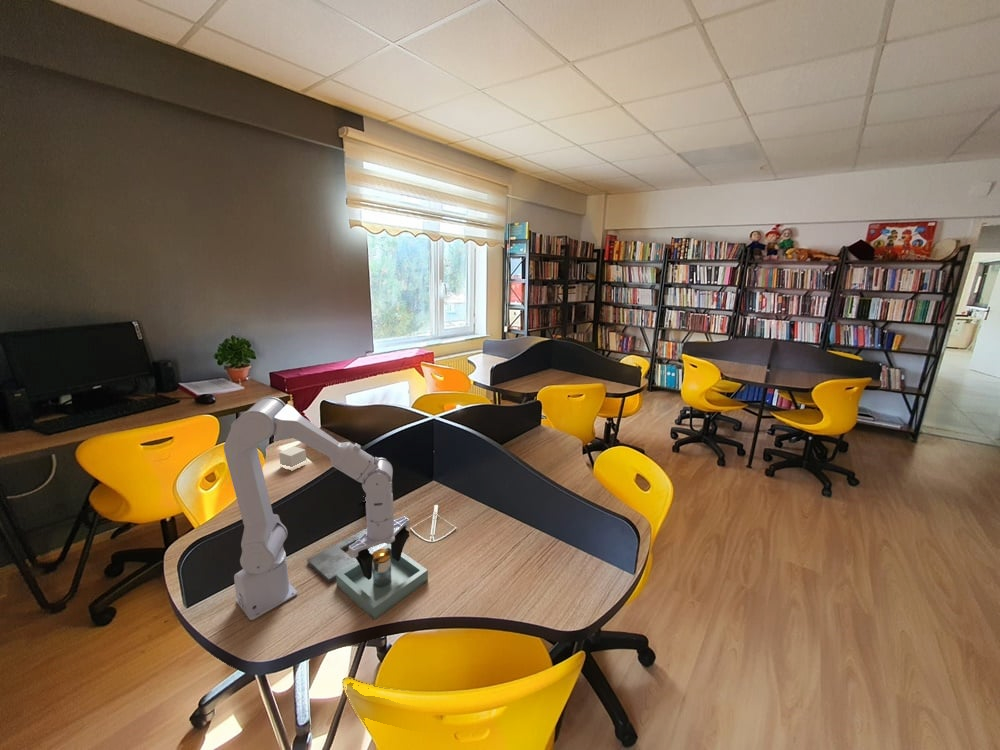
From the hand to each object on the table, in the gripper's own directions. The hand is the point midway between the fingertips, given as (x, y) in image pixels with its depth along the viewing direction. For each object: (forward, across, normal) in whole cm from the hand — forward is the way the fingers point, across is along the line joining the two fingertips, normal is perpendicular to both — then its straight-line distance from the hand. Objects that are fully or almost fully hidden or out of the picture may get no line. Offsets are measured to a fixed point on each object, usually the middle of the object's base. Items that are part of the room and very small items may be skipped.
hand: (382, 567), depth 92 cm
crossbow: (+5, +23, +8) cm, 25 cm away
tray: (+4, 0, 0) cm, 4 cm away
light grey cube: (+4, +13, +71) cm, 72 cm away
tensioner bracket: (+4, +2, +14) cm, 15 cm away
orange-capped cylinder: (+4, 0, 0) cm, 4 cm away
